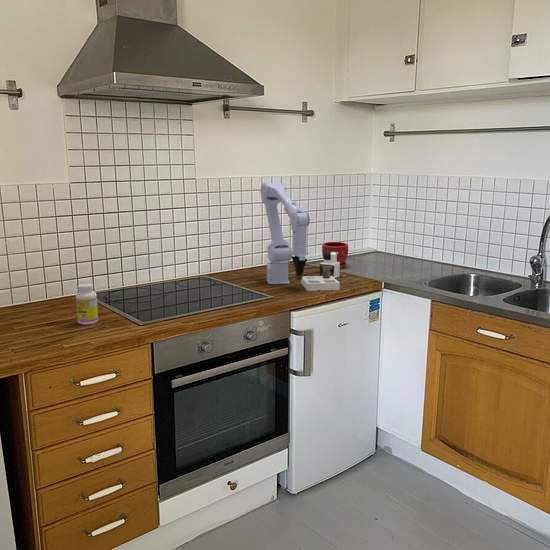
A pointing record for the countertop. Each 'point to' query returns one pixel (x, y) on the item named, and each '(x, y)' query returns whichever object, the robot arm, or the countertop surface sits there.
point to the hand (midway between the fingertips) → (298, 274)
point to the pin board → (321, 281)
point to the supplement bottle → (86, 304)
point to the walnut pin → (298, 277)
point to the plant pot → (337, 247)
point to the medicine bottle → (330, 264)
